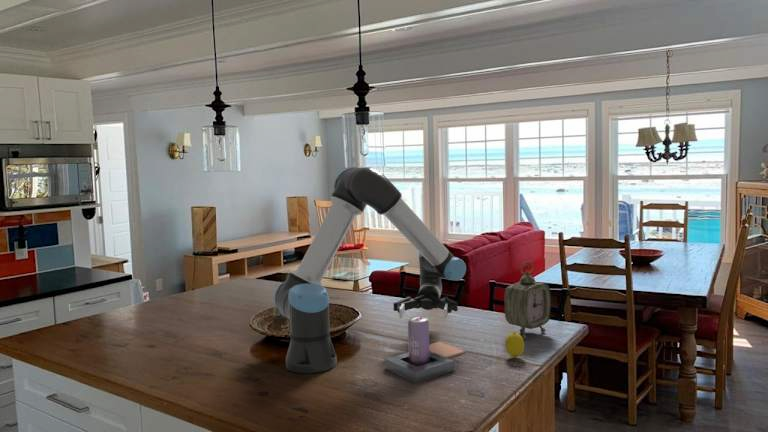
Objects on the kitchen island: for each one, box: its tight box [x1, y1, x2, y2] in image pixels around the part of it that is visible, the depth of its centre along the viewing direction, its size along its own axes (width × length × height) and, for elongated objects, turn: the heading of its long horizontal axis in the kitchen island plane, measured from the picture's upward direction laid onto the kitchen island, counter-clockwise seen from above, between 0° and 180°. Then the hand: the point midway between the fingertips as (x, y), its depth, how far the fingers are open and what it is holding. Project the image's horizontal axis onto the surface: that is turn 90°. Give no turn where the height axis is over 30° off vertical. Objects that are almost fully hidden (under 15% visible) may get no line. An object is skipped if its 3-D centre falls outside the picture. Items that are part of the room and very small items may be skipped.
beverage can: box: [407, 315, 430, 367], centre depth 159 cm, size 6×6×15 cm
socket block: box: [384, 351, 455, 384], centre depth 159 cm, size 14×14×3 cm
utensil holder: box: [271, 306, 290, 331], centre depth 196 cm, size 6×6×12 cm
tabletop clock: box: [504, 261, 552, 340], centre depth 188 cm, size 14×9×25 cm, turn 129°
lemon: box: [504, 331, 525, 359], centre depth 166 cm, size 6×6×8 cm
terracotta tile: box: [429, 341, 466, 359], centre depth 174 cm, size 12×12×1 cm
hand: (422, 313), depth 168 cm, fingers open, 13 cm apart
